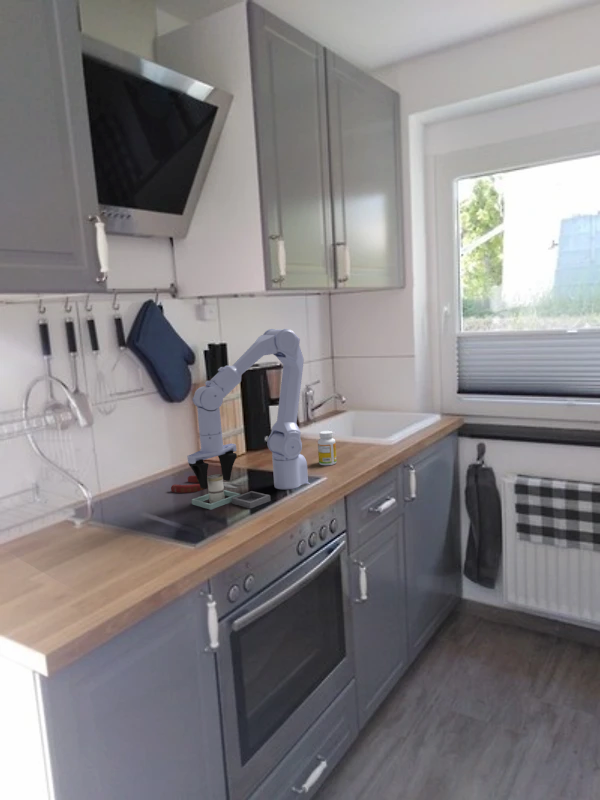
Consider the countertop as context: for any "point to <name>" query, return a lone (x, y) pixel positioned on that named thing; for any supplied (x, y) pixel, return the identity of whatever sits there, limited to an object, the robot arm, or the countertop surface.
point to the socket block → (251, 499)
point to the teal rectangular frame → (200, 502)
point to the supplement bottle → (326, 448)
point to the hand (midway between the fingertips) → (215, 484)
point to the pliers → (197, 486)
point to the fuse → (215, 488)
